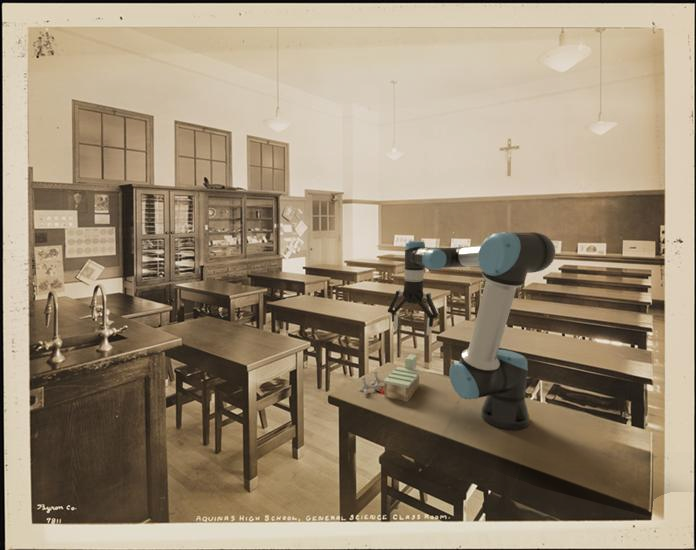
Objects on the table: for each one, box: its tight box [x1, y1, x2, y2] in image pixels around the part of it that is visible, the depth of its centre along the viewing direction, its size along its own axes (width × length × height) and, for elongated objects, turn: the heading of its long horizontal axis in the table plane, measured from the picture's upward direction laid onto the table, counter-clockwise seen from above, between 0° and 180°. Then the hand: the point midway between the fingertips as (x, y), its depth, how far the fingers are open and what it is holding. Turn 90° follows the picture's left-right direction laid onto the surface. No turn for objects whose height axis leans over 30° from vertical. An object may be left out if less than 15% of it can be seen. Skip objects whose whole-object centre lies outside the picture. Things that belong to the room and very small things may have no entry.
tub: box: [383, 374, 420, 403], centre depth 157 cm, size 9×15×6 cm, turn 155°
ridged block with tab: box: [383, 353, 421, 388], centre depth 159 cm, size 10×22×5 cm, turn 155°
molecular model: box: [357, 370, 385, 395], centre depth 158 cm, size 14×8×10 cm
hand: (411, 332), depth 164 cm, fingers open, 13 cm apart
